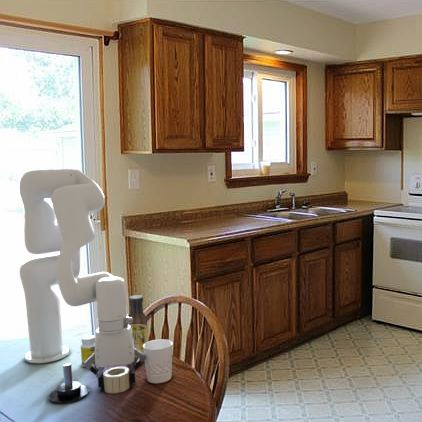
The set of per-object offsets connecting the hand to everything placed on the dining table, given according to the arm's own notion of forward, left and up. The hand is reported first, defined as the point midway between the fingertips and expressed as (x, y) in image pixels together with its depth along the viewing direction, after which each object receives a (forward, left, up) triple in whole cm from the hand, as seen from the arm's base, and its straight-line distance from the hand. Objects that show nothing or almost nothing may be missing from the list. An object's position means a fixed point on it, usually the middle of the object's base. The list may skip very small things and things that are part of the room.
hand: (117, 387), depth 144 cm
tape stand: (+1, -12, 0) cm, 12 cm away
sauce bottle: (-18, +5, 0) cm, 19 cm away
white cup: (-3, +11, 0) cm, 11 cm away
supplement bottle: (-19, -9, 0) cm, 21 cm away
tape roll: (0, 0, 0) cm, 0 cm away
